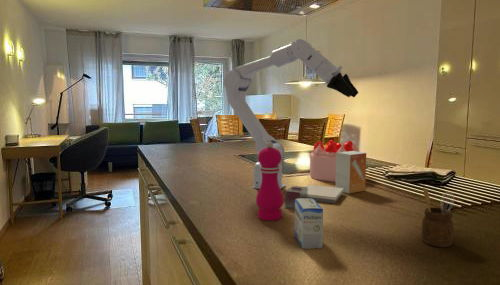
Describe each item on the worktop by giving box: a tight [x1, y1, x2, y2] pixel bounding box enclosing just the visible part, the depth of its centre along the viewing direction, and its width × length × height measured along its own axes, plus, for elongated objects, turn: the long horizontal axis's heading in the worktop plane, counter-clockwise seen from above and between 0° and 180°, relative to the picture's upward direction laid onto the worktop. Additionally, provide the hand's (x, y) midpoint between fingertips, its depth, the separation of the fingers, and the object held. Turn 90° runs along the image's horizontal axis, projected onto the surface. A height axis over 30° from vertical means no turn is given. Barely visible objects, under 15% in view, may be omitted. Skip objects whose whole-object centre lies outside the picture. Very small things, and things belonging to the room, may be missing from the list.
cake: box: [309, 139, 360, 183], centre depth 143 cm, size 20×20×14 cm
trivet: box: [305, 184, 344, 204], centre depth 114 cm, size 12×12×2 cm
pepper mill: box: [255, 142, 285, 222], centre depth 94 cm, size 7×7×20 cm
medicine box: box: [293, 198, 324, 250], centre depth 77 cm, size 8×4×9 cm, turn 5°
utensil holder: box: [421, 186, 455, 248], centre depth 76 cm, size 6×6×12 cm
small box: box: [335, 151, 367, 195], centre depth 121 cm, size 8×6×13 cm
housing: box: [284, 185, 308, 210], centre depth 105 cm, size 4×7×6 cm, turn 154°
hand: (353, 94), depth 111 cm, fingers open, 7 cm apart
